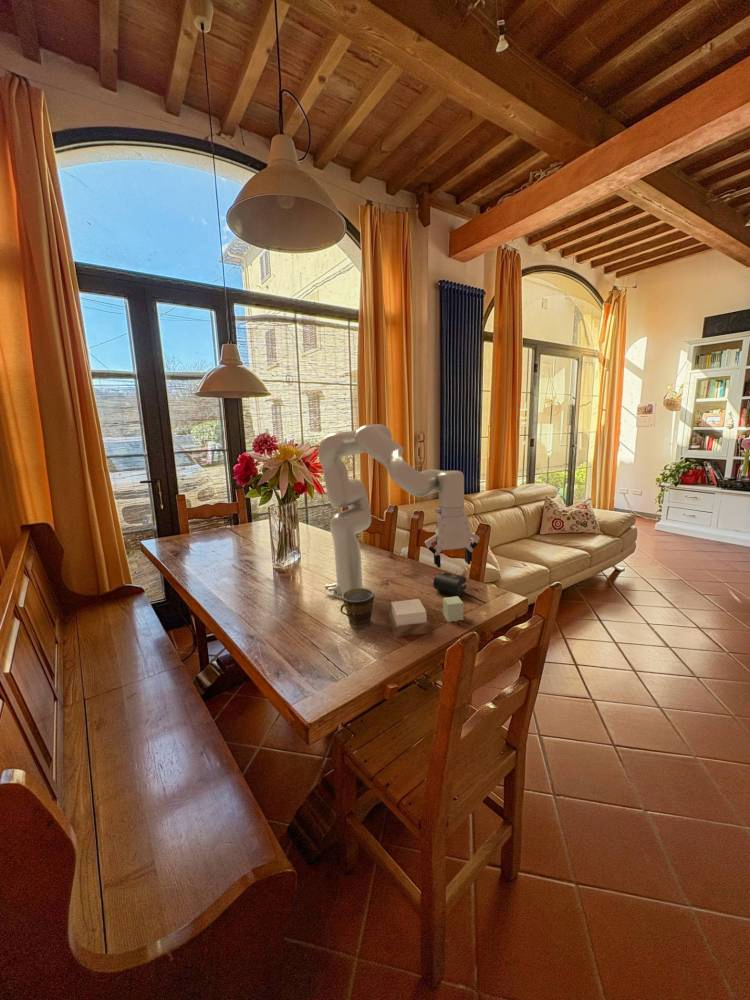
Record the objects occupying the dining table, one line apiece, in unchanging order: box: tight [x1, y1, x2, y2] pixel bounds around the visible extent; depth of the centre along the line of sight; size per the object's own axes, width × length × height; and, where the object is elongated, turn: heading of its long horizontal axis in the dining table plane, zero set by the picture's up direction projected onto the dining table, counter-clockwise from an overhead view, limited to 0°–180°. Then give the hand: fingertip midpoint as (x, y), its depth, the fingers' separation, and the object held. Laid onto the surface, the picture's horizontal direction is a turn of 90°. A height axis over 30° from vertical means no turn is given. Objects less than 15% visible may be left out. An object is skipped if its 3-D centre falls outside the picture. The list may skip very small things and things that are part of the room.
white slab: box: [390, 598, 427, 626], centre depth 125 cm, size 9×9×4 cm
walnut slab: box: [387, 610, 432, 638], centre depth 126 cm, size 11×11×4 cm
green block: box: [442, 595, 464, 623], centre depth 130 cm, size 5×5×6 cm
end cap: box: [432, 572, 467, 598], centre depth 148 cm, size 10×7×7 cm
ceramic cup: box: [340, 588, 375, 630], centre depth 127 cm, size 13×10×10 cm
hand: (452, 564), depth 127 cm, fingers open, 9 cm apart
